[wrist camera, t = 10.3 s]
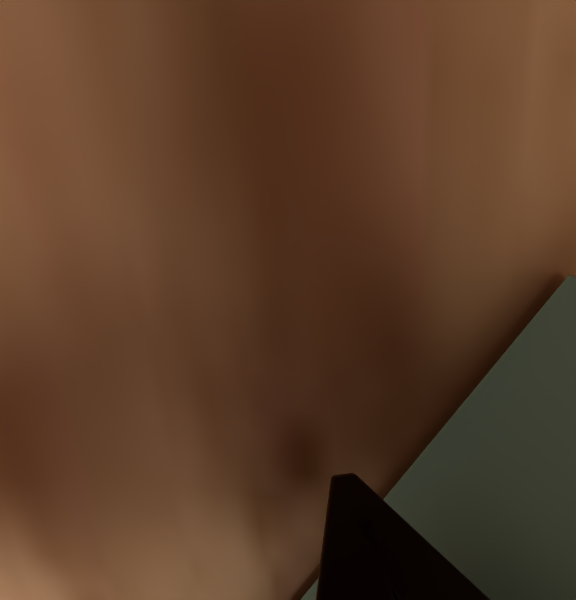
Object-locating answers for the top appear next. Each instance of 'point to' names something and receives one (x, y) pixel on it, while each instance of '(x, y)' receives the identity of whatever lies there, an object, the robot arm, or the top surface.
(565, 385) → the bar
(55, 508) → the top surface
